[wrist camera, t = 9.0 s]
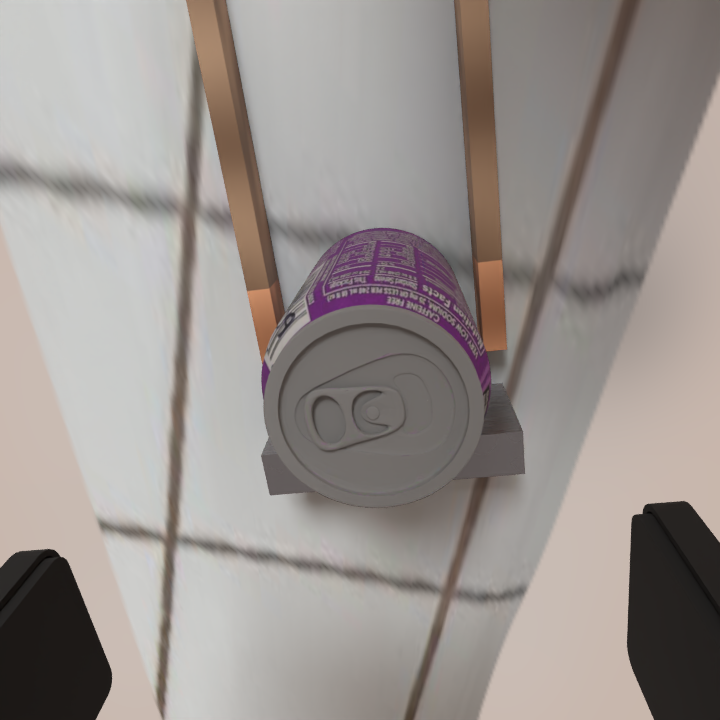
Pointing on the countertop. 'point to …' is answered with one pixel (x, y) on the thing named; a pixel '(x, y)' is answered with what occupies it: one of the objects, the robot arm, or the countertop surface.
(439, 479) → the beverage can
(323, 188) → the countertop surface
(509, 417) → the guide channel
